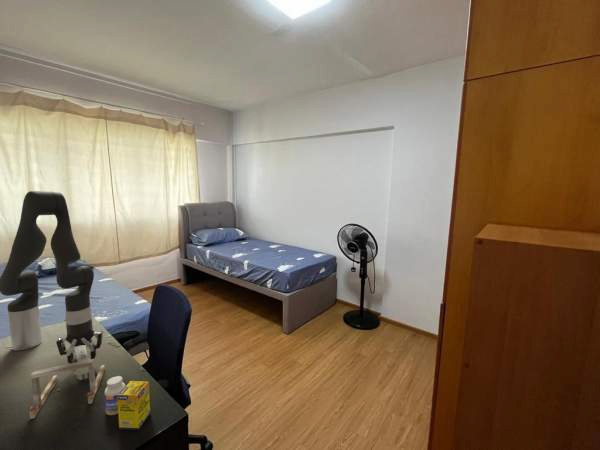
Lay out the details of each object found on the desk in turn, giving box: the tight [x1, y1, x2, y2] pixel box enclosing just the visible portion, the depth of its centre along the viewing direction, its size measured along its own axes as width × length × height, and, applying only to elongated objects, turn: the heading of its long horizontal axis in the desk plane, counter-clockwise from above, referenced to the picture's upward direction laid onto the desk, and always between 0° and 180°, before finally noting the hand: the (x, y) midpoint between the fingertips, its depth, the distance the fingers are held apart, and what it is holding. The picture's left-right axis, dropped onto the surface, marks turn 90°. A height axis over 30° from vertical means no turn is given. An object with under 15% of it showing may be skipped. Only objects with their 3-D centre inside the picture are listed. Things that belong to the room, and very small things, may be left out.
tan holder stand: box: [29, 358, 106, 420], centre depth 91 cm, size 18×16×12 cm
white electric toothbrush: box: [72, 345, 91, 381], centre depth 102 cm, size 5×7×25 cm
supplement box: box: [117, 380, 151, 431], centre depth 79 cm, size 6×6×11 cm
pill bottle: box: [104, 375, 126, 416], centre depth 84 cm, size 5×5×10 cm
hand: (82, 360), depth 103 cm, fingers closed on white electric toothbrush, 5 cm apart
